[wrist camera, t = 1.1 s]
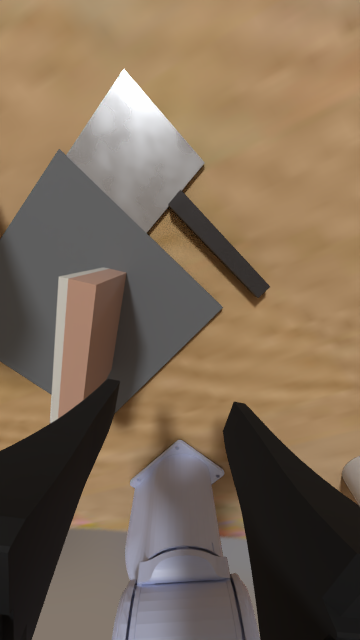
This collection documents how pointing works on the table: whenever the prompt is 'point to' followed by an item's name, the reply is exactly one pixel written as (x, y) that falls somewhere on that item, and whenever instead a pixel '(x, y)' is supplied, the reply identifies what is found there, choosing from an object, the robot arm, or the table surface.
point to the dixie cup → (353, 477)
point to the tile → (84, 335)
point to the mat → (82, 255)
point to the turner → (149, 169)
